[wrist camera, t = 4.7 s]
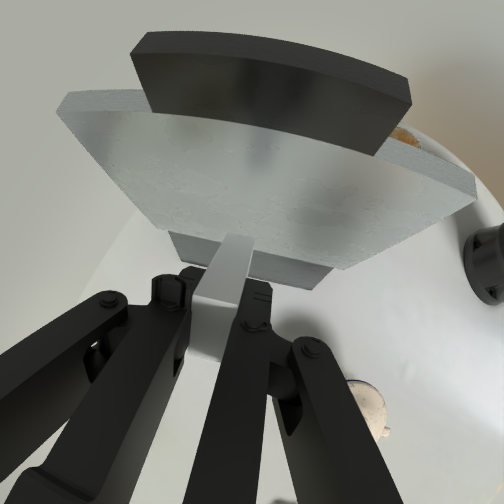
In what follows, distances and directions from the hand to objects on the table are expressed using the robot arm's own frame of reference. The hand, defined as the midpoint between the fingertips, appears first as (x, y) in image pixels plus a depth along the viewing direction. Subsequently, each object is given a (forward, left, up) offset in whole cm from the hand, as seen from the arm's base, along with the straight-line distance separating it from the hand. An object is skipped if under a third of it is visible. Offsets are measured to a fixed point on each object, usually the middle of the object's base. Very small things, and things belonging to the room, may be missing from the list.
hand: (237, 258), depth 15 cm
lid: (-2, -4, +1) cm, 4 cm away
